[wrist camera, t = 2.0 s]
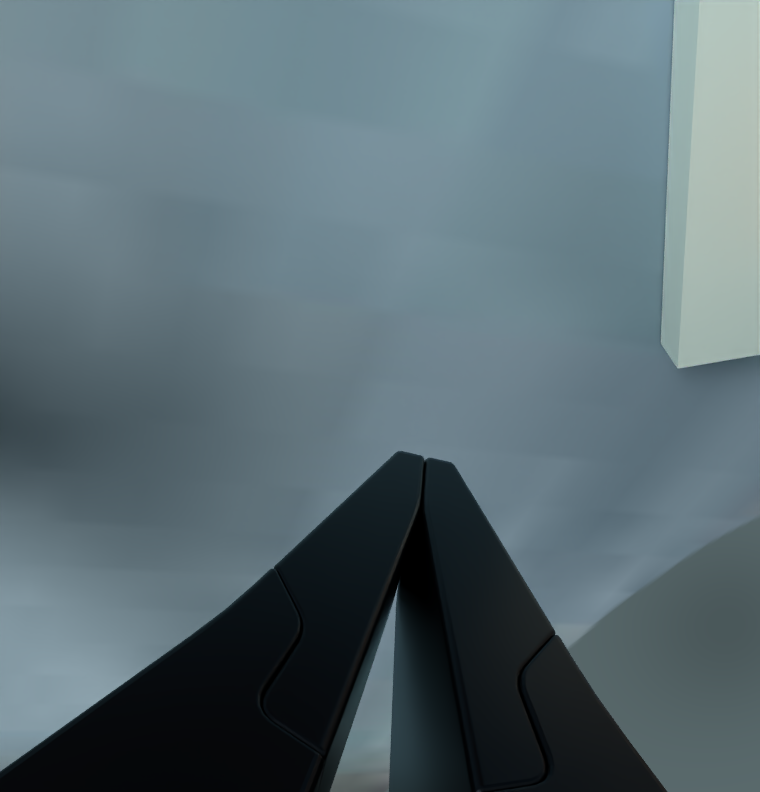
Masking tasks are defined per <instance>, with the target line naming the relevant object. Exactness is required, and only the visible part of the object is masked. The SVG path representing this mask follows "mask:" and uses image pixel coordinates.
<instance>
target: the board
mask: <svg viewBox="0 0 760 792" xmlns="http://www.w3.org/2000/svg"><path fill="white" fill-rule="evenodd" d="M661 345H662V346H663V348H664V349H665V351H666V352H667V354H668V355H669V356H670V358H671V359H672V361H673V362H674V364H675V365H676V367H677V368H678V369H679V368H685V367H691V366H697V365H702V364H708V363H714V362H720V361H726V360H732V359H738V358H744V357H750V356H755V355H760V0H675V3H674V28H673V52H672V77H671V102H670V126H669V151H668V176H667V200H666V225H665V249H664V274H663V299H662V323H661Z"/></svg>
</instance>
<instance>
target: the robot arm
mask: <svg viewBox="0 0 760 792" xmlns="http://www.w3.org/2000/svg"><path fill="white" fill-rule="evenodd" d="M397 587H398V590H397ZM396 590H397V602H396V622H395V648H394V674H393V700H392V726H391V752H390V778H389V792H667V791H666V789H665V788H664V787H663V785H662V784H661V783H660V781H659V780H658V779H657V778H656V776H655V775H654V773H653V772H652V771H651V769H650V768H649V767H648V765H647V764H646V763H645V761H644V760H643V759H642V757H641V756H640V755H639V753H638V752H637V751H636V749H635V748H634V747H633V745H632V744H631V743H630V742H629V740H628V739H627V737H626V736H625V735H624V733H623V732H622V730H621V729H620V728H619V726H618V725H617V724H616V722H615V721H614V719H613V718H612V716H611V715H610V714H609V712H608V711H607V710H606V708H605V707H604V705H603V704H602V702H601V701H600V700H599V698H598V697H597V695H596V694H595V692H594V691H593V689H592V688H591V686H590V685H589V683H588V682H587V680H586V678H585V677H584V675H583V674H582V672H581V671H580V669H579V668H578V666H577V665H576V663H575V661H574V660H573V658H572V657H571V655H570V653H569V652H568V650H567V648H566V647H565V645H564V643H563V642H562V640H561V638H560V637H559V636H558V635H555V630H554V629H553V627H552V625H551V624H550V622H549V620H548V619H547V617H546V615H545V614H544V612H543V610H542V609H541V607H540V605H539V604H538V602H537V601H536V599H535V597H534V596H533V594H532V592H531V591H530V589H529V587H528V586H527V584H526V582H525V581H524V579H523V577H522V576H521V574H520V572H519V571H518V569H517V568H516V566H515V564H514V563H513V561H512V559H511V558H510V556H509V554H508V553H507V551H506V549H505V548H504V546H503V544H502V543H501V541H500V540H499V538H498V536H497V535H496V533H495V531H494V530H493V528H492V526H491V525H490V523H489V521H488V520H487V518H486V516H485V515H484V513H483V511H482V510H481V508H480V507H479V505H478V503H477V502H476V500H475V498H474V497H473V495H472V493H471V492H470V490H469V488H468V487H467V485H466V483H465V482H464V480H463V478H462V477H461V475H460V474H459V472H458V470H457V469H456V467H455V466H454V464H452V463H451V462H447V461H443V460H438V459H434V458H427V459H426V460H424V458H423V457H422V456H421V455H416V454H412V453H408V452H403V451H398V452H396V453H395V454H394V455H393V456H392V457H391V458H390V459H389V460H388V461H386V462H385V463H384V464H383V465H382V466H381V467H380V468H379V469H378V470H377V471H376V472H375V473H374V474H373V475H372V476H370V477H369V478H368V479H367V480H366V481H365V482H364V483H363V484H362V485H361V486H360V487H359V488H358V489H357V490H356V491H354V492H353V493H352V494H351V495H350V496H349V497H348V498H347V499H346V500H345V501H344V502H343V503H342V504H341V505H339V506H338V507H337V508H336V509H335V510H334V511H333V512H332V513H331V514H330V515H329V516H328V517H327V518H326V519H325V520H323V521H322V522H321V523H320V524H319V525H318V526H317V527H316V528H315V529H314V530H313V531H312V532H311V533H310V534H308V535H307V536H306V537H305V538H304V539H303V540H302V541H301V542H300V543H299V544H298V545H297V546H296V547H295V548H294V549H292V550H291V551H290V552H289V553H288V554H287V555H286V556H285V557H284V558H283V559H282V560H281V561H280V562H279V563H277V564H276V565H275V567H274V569H270V570H269V571H268V572H267V573H266V574H265V575H264V576H263V577H261V578H260V579H259V580H258V581H257V582H256V583H255V584H254V585H253V586H252V587H251V588H249V589H248V590H247V591H246V592H245V593H244V594H243V595H241V596H240V597H239V598H238V599H237V600H236V601H234V602H233V603H232V604H231V605H230V606H229V607H228V608H226V609H225V610H224V611H223V612H221V613H220V614H219V615H217V616H216V617H215V618H213V619H212V620H211V621H209V622H208V623H207V624H205V625H204V626H203V627H201V628H200V629H199V630H197V631H196V632H195V633H193V634H192V635H191V636H189V637H188V638H187V639H185V640H184V641H182V642H181V643H180V644H178V645H177V646H175V647H174V648H173V649H171V650H170V651H168V652H167V653H166V654H164V655H163V656H161V657H160V658H159V659H157V660H156V661H154V662H153V663H152V664H150V665H149V666H147V667H146V668H145V669H143V670H142V671H140V672H139V673H138V674H136V675H135V676H133V677H132V678H131V679H129V680H128V681H126V682H125V683H124V684H122V685H121V686H119V687H118V688H117V689H115V690H114V691H112V692H111V693H110V694H108V695H107V696H105V697H104V698H103V699H101V700H100V701H98V702H97V703H96V704H94V705H93V706H91V707H90V708H89V709H87V710H86V711H84V712H83V713H82V714H80V715H79V716H77V717H76V718H75V719H73V720H72V721H70V722H69V723H68V724H66V725H65V726H63V727H62V728H61V729H59V730H58V731H56V732H55V733H54V734H52V735H51V736H49V737H48V738H47V739H45V740H44V741H42V742H41V743H40V744H38V745H37V746H35V747H34V748H32V749H31V750H30V751H28V752H27V753H25V754H24V755H23V756H21V757H20V758H18V759H17V760H16V761H14V762H13V763H11V764H10V765H9V766H7V767H6V768H4V769H3V770H2V771H0V792H330V789H331V786H332V783H333V780H334V777H335V774H336V771H337V768H338V765H339V762H340V759H341V756H342V753H343V750H344V747H345V744H346V741H347V738H348V735H349V733H350V730H351V727H352V724H353V721H354V718H355V715H356V712H357V709H358V706H359V703H360V700H361V697H362V694H363V691H364V688H365V685H366V682H367V679H368V676H369V673H370V670H371V667H372V664H373V661H374V658H375V655H376V652H377V649H378V646H379V643H380V640H381V637H382V634H383V631H384V628H385V625H386V622H387V619H388V616H389V613H390V610H391V607H392V604H393V600H394V597H395V593H396Z"/></svg>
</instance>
